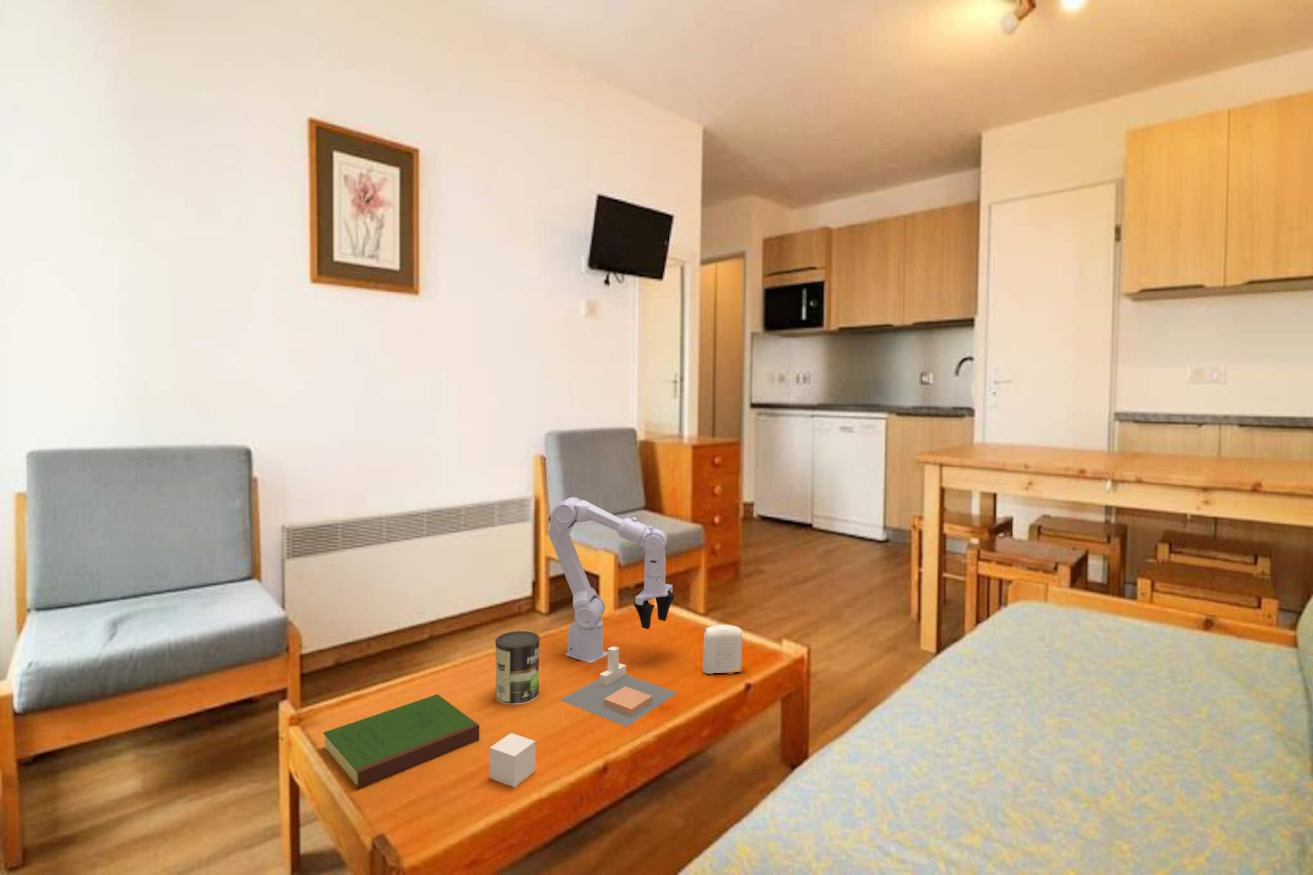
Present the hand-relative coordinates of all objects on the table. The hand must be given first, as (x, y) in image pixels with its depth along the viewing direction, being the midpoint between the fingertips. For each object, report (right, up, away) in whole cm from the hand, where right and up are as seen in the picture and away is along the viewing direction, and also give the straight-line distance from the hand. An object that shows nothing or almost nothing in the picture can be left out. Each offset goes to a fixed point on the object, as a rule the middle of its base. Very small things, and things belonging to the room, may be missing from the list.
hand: (654, 623), depth 173 cm
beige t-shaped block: (-10, -11, -12) cm, 19 cm away
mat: (-8, -12, -21) cm, 25 cm away
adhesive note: (-27, -14, -52) cm, 60 cm away
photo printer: (+18, -11, -5) cm, 22 cm away
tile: (-9, -10, -22) cm, 26 cm away
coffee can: (-33, -12, -20) cm, 40 cm away
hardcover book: (-51, -13, -42) cm, 67 cm away
